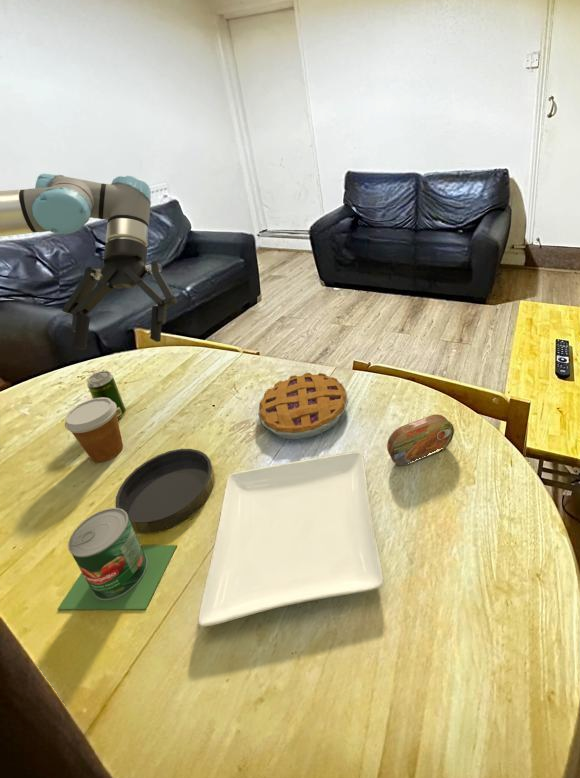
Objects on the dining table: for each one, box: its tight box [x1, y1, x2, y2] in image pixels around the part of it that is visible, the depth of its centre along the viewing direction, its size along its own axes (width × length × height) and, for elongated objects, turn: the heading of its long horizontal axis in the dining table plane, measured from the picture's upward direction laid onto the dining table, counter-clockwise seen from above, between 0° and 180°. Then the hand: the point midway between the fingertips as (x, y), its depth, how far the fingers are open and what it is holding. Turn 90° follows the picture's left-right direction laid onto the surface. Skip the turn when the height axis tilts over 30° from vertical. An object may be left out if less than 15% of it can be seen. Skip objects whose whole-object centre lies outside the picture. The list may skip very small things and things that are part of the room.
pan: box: [114, 448, 216, 534], centre depth 82 cm, size 17×17×3 cm
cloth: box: [57, 544, 178, 611], centre depth 68 cm, size 14×10×1 cm
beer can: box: [86, 370, 127, 420], centre depth 102 cm, size 5×5×12 cm
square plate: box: [197, 450, 384, 628], centre depth 73 cm, size 27×27×4 cm
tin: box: [386, 413, 455, 466], centre depth 87 cm, size 15×3×8 cm, turn 114°
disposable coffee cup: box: [64, 397, 124, 464], centre depth 91 cm, size 10×10×12 cm
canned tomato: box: [67, 507, 147, 601], centre depth 66 cm, size 8×8×11 cm
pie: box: [257, 372, 349, 440], centre depth 102 cm, size 22×22×5 cm
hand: (118, 344), depth 79 cm, fingers open, 13 cm apart
